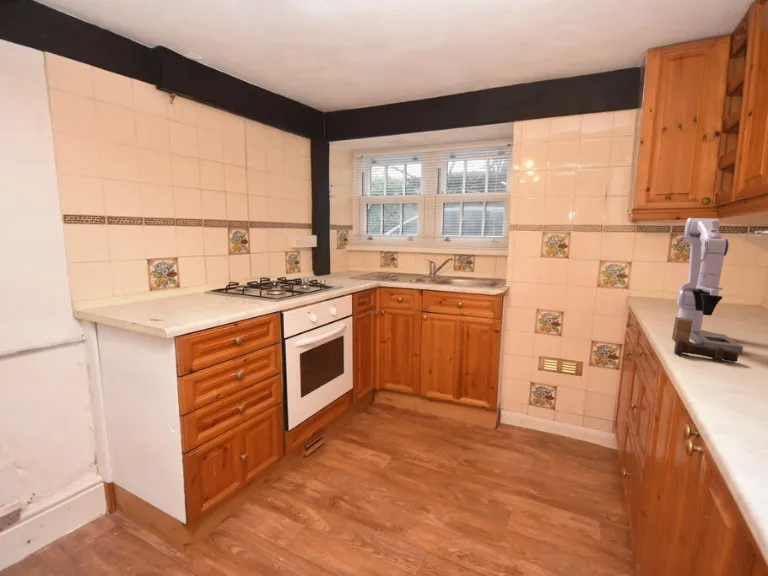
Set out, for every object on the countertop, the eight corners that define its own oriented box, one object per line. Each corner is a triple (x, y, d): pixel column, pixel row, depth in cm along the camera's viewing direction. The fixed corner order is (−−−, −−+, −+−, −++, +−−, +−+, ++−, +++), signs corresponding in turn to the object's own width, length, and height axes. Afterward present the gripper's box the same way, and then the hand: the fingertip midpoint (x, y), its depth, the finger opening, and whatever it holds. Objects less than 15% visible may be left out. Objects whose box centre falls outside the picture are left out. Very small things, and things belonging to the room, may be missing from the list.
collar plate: (689, 336, 146) (690, 330, 145) (723, 341, 142) (724, 334, 141) (703, 349, 131) (704, 342, 131) (741, 354, 127) (743, 346, 127)
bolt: (734, 370, 119) (673, 357, 126) (733, 358, 122) (674, 346, 130) (741, 356, 115) (677, 345, 123) (739, 344, 119) (678, 334, 126)
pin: (671, 338, 143) (675, 317, 141) (685, 340, 141) (689, 318, 140) (674, 341, 139) (678, 319, 138) (688, 343, 138) (692, 321, 136)
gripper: (733, 277, 128) (725, 318, 130) (716, 272, 141) (709, 310, 143) (706, 275, 130) (699, 316, 133) (692, 271, 144) (686, 307, 146)
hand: (703, 312), depth 138 cm, fingers open, 7 cm apart
